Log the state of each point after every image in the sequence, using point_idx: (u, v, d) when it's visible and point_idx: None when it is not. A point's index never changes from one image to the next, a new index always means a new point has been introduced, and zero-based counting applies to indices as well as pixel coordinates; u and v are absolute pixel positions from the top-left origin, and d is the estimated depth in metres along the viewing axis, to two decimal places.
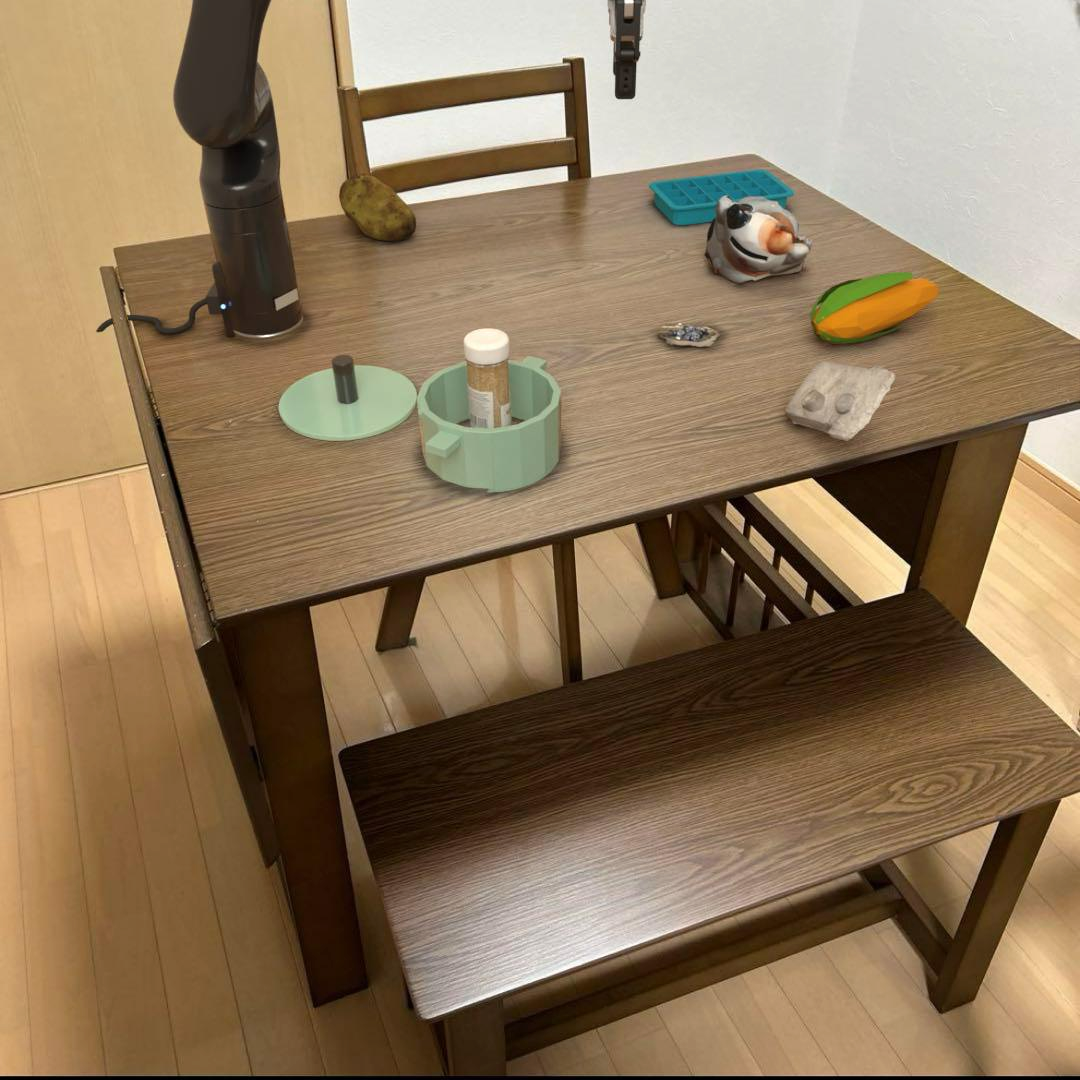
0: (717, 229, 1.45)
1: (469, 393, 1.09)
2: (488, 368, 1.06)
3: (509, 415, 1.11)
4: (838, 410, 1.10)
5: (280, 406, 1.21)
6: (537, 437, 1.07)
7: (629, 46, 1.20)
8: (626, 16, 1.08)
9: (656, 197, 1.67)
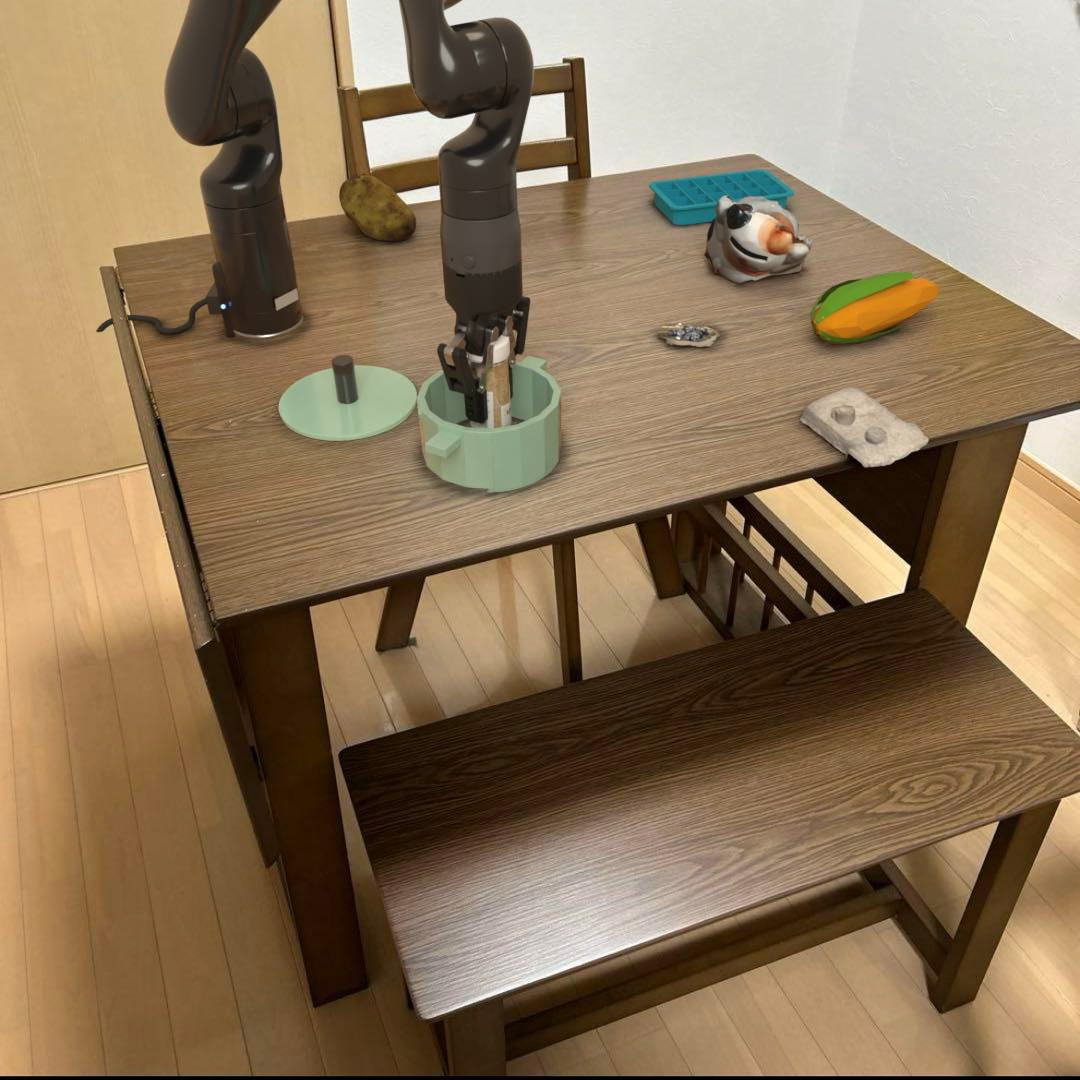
0: (717, 229, 1.45)
1: None
2: None
3: (509, 415, 1.11)
4: (869, 437, 1.11)
5: (280, 406, 1.21)
6: (537, 437, 1.07)
7: None
8: (449, 364, 1.02)
9: (656, 197, 1.67)
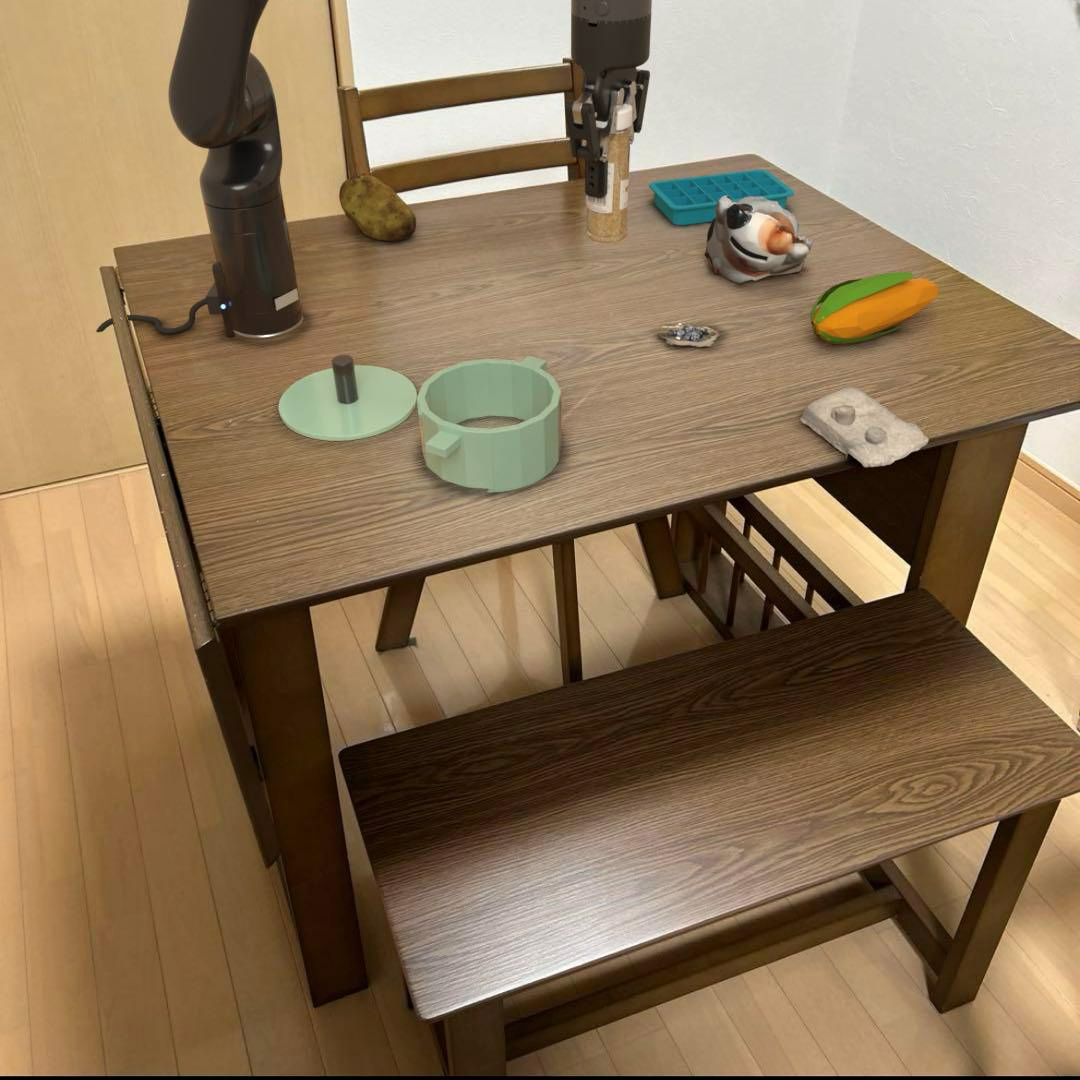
0: (717, 229, 1.45)
1: None
2: None
3: (627, 193, 1.10)
4: (869, 437, 1.11)
5: (280, 406, 1.21)
6: (537, 437, 1.07)
7: None
8: (576, 122, 1.01)
9: (656, 197, 1.67)
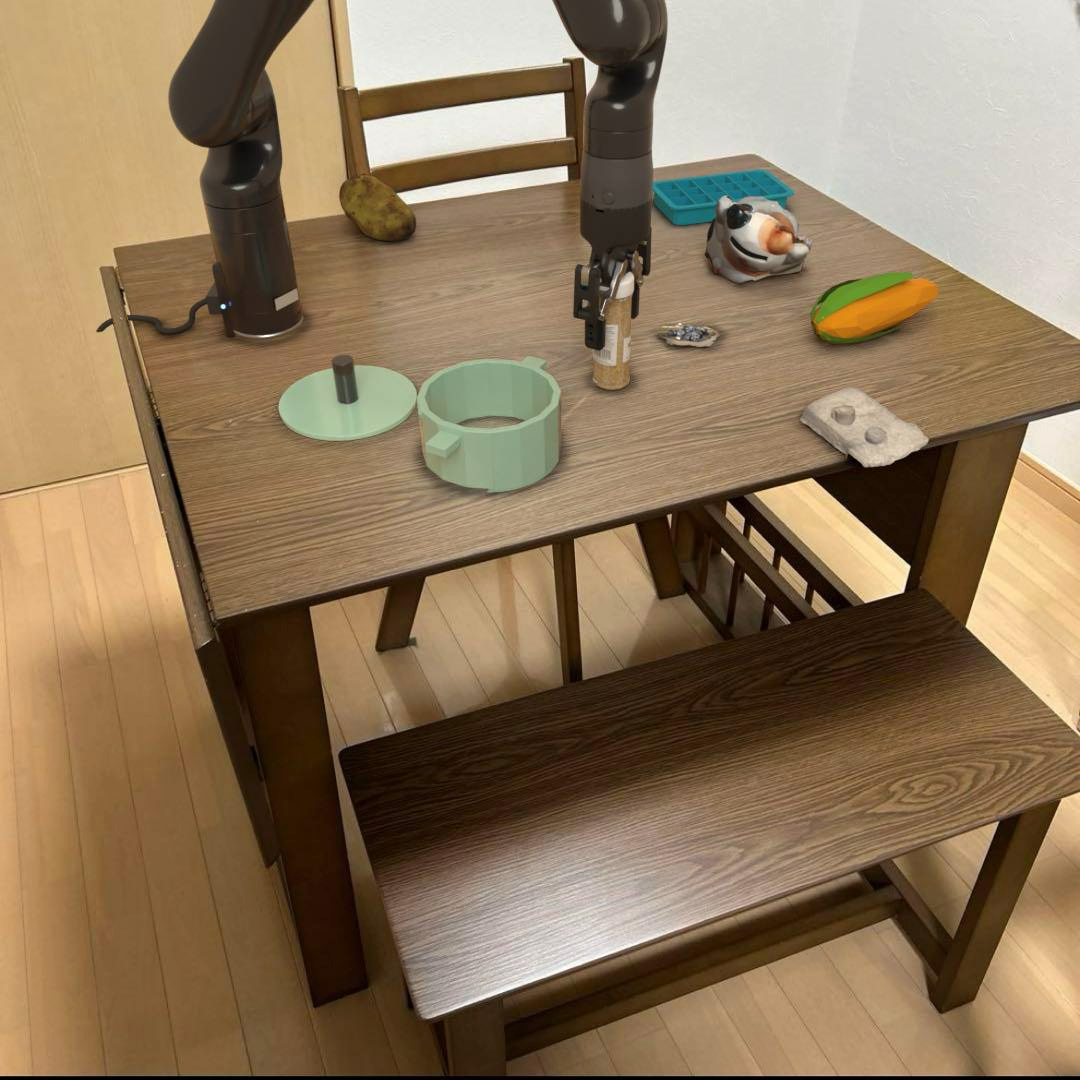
0: (717, 229, 1.45)
1: None
2: (616, 302, 1.17)
3: (629, 348, 1.22)
4: (869, 437, 1.11)
5: (280, 406, 1.21)
6: (537, 437, 1.07)
7: (633, 293, 1.22)
8: (582, 283, 1.12)
9: (656, 197, 1.67)
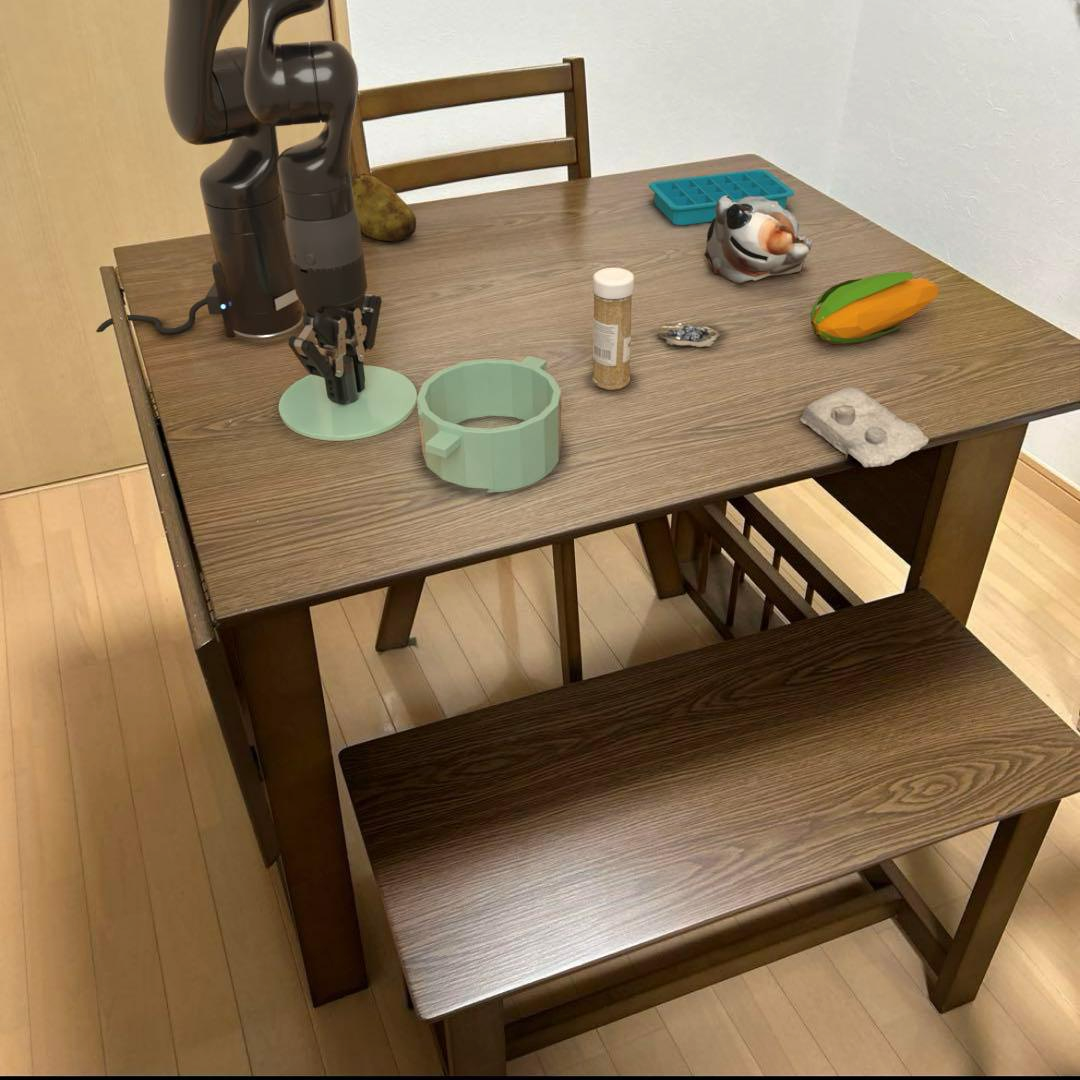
0: (717, 229, 1.45)
1: (595, 327, 1.21)
2: (616, 302, 1.17)
3: (629, 348, 1.22)
4: (869, 437, 1.11)
5: (280, 406, 1.21)
6: (537, 437, 1.07)
7: (355, 367, 1.20)
8: (301, 354, 1.13)
9: (656, 197, 1.67)
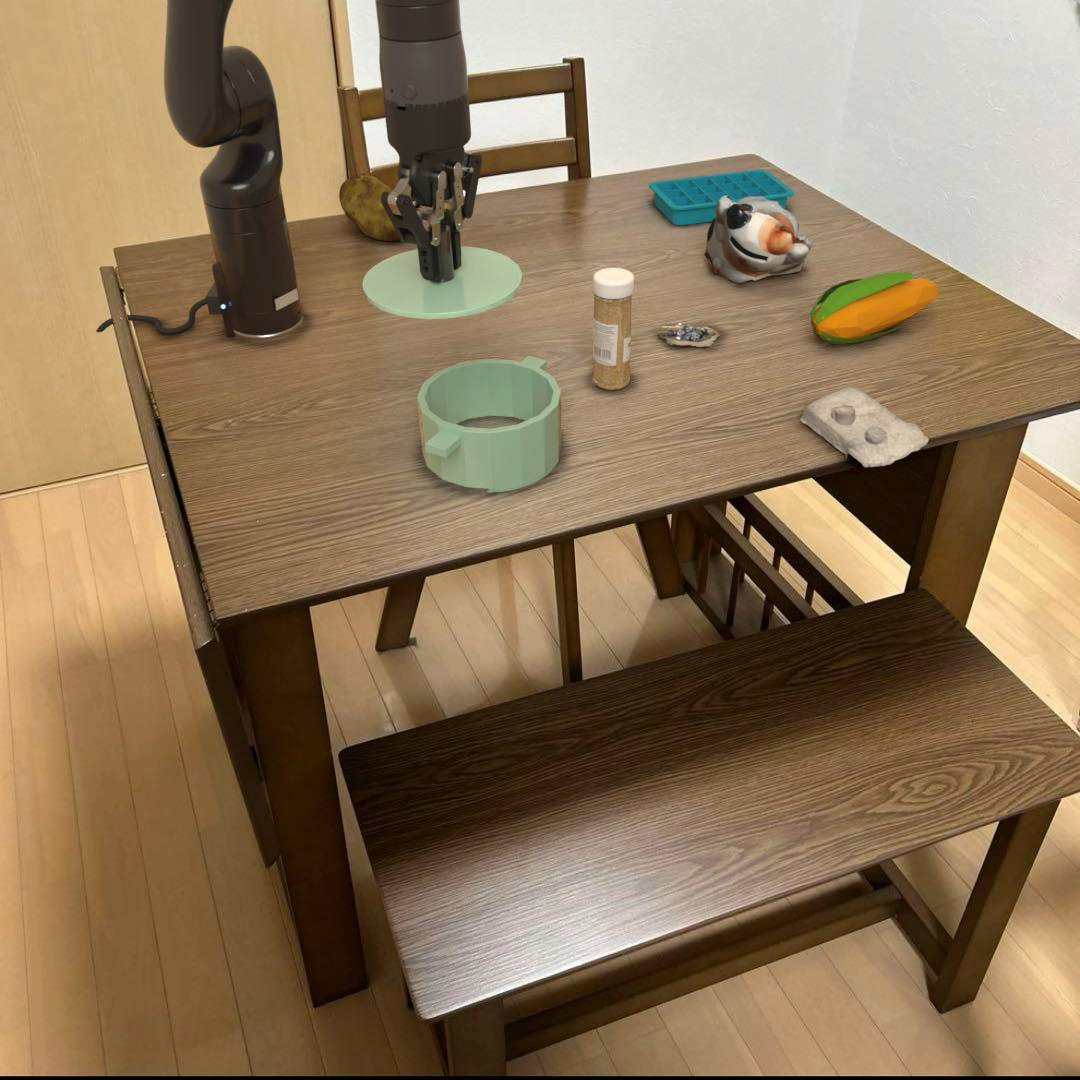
0: (717, 229, 1.45)
1: (595, 327, 1.21)
2: (616, 302, 1.17)
3: (629, 348, 1.22)
4: (869, 437, 1.11)
5: (364, 285, 1.04)
6: (537, 437, 1.07)
7: None
8: (395, 213, 0.96)
9: (656, 197, 1.67)
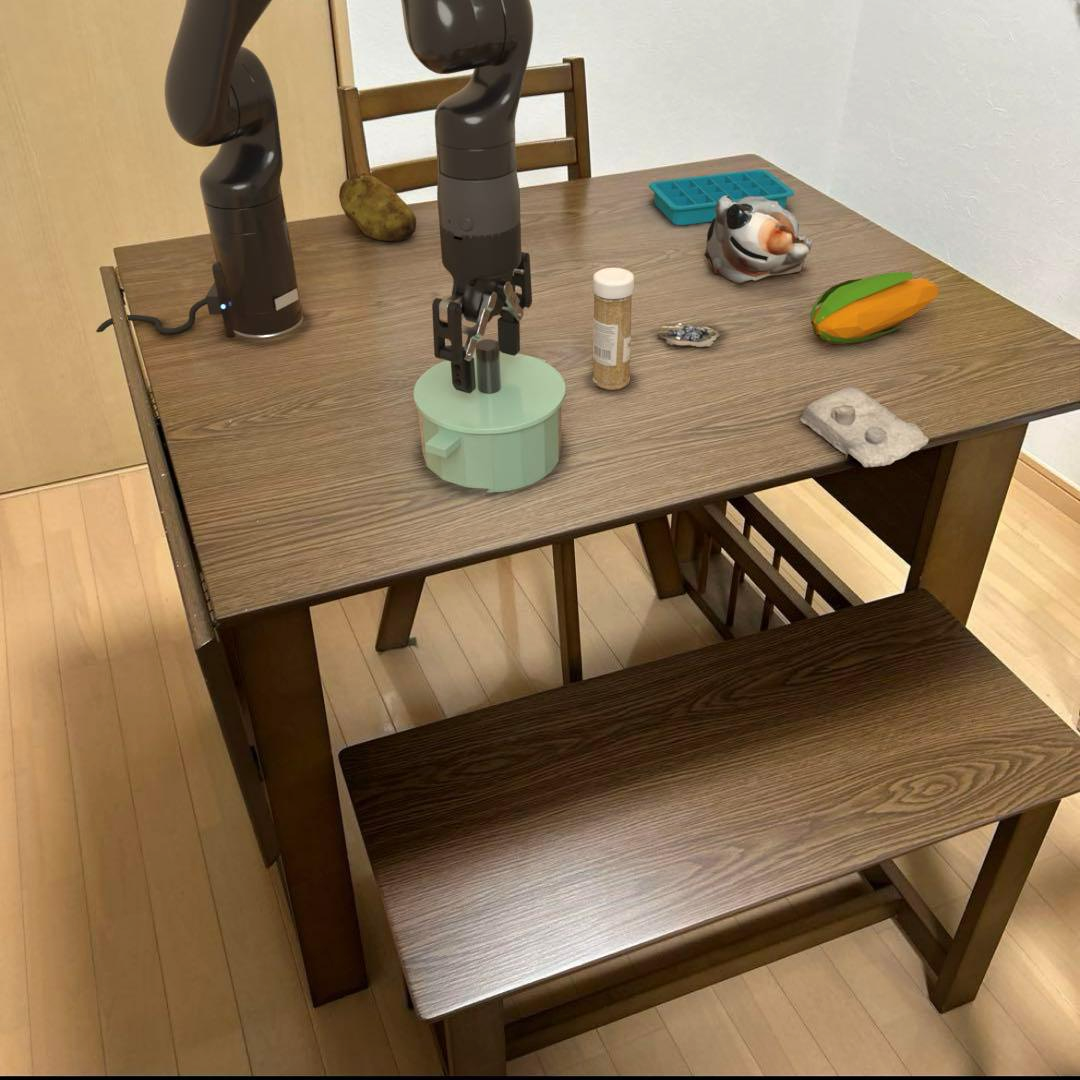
0: (717, 229, 1.45)
1: (595, 327, 1.21)
2: (616, 302, 1.17)
3: (629, 348, 1.22)
4: (869, 437, 1.11)
5: (416, 396, 1.09)
6: (537, 437, 1.07)
7: (512, 327, 1.09)
8: (441, 320, 0.99)
9: (656, 197, 1.67)
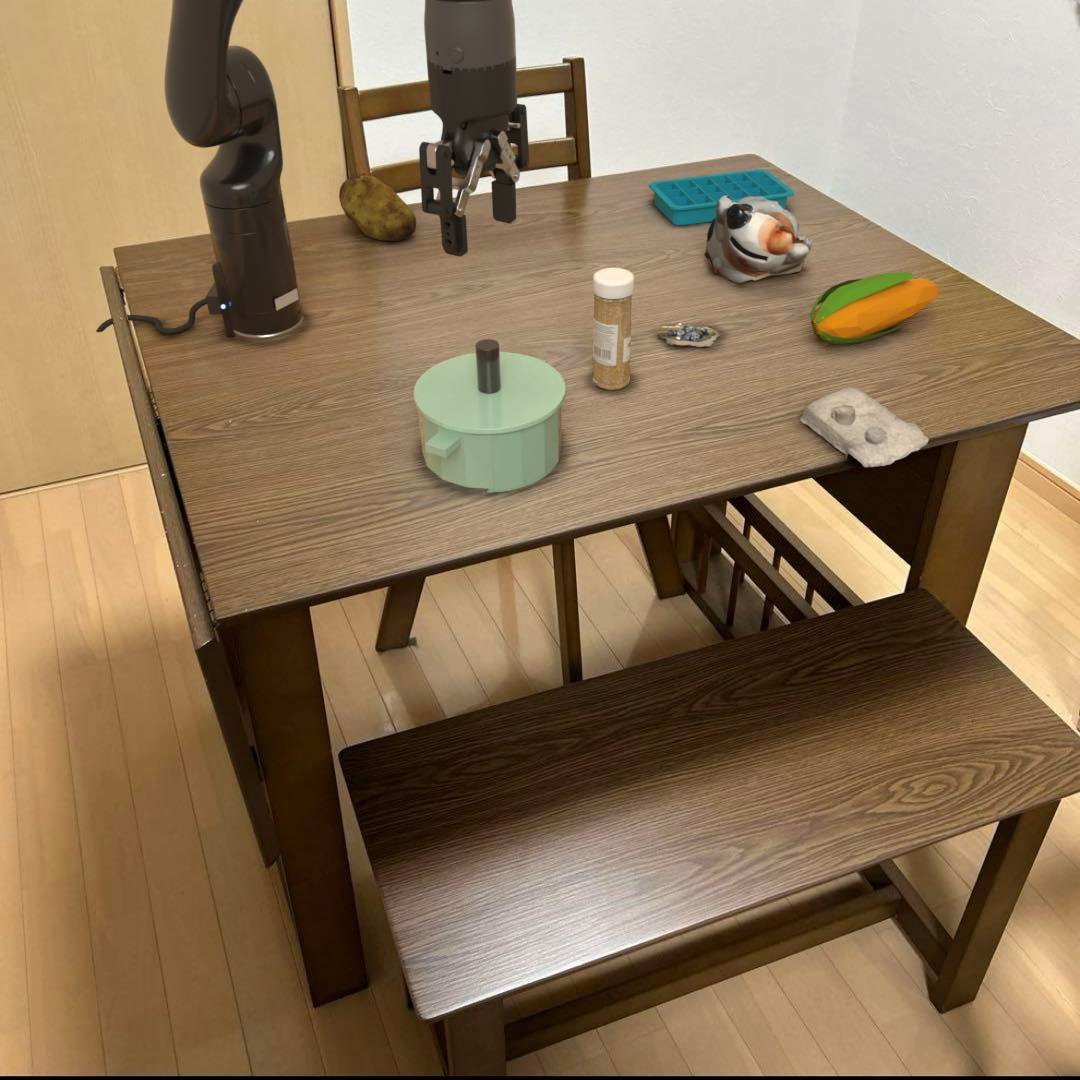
0: (717, 229, 1.45)
1: (595, 327, 1.21)
2: (616, 302, 1.17)
3: (629, 348, 1.22)
4: (869, 437, 1.11)
5: (416, 396, 1.09)
6: (537, 437, 1.07)
7: (507, 190, 1.00)
8: (429, 166, 0.90)
9: (656, 197, 1.67)
